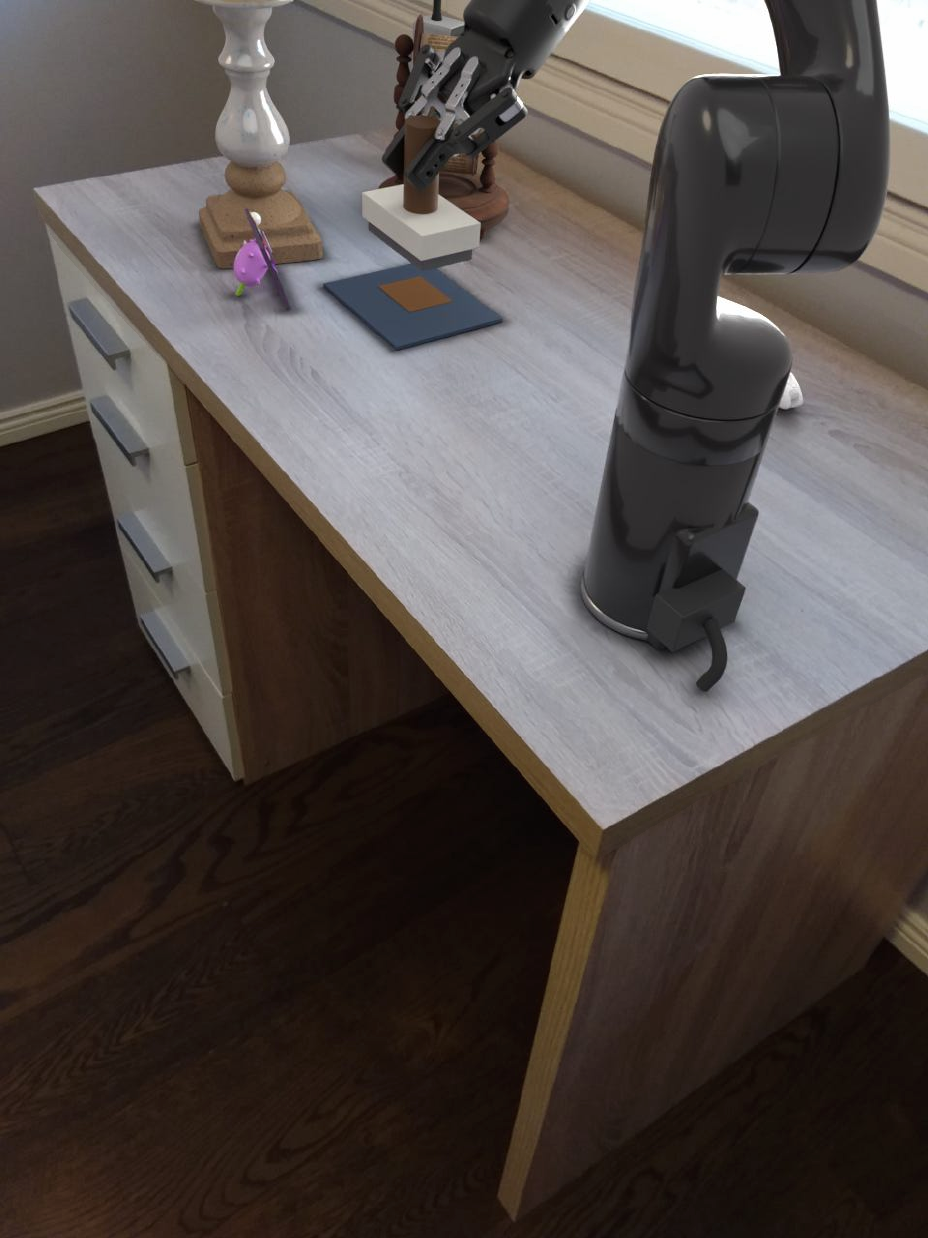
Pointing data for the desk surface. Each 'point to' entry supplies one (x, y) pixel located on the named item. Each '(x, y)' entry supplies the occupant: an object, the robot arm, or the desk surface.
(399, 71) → the scroll
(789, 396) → the white rounded piece
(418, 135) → the stamp
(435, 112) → the robot arm
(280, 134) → the candle holder
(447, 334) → the mat
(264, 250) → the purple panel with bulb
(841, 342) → the desk surface
